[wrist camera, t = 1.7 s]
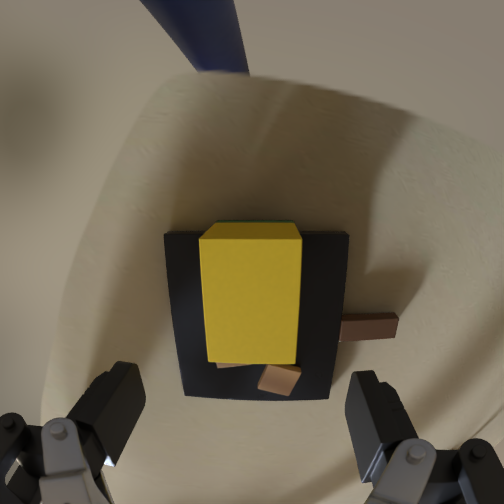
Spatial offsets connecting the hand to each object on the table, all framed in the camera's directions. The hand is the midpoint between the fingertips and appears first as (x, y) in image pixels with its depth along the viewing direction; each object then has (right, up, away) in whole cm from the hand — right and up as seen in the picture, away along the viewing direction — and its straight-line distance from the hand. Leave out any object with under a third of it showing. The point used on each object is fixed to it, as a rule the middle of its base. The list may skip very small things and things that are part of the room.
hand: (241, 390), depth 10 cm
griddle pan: (+3, -1, +15) cm, 15 cm away
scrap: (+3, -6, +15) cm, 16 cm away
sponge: (+1, +3, +13) cm, 13 cm away
